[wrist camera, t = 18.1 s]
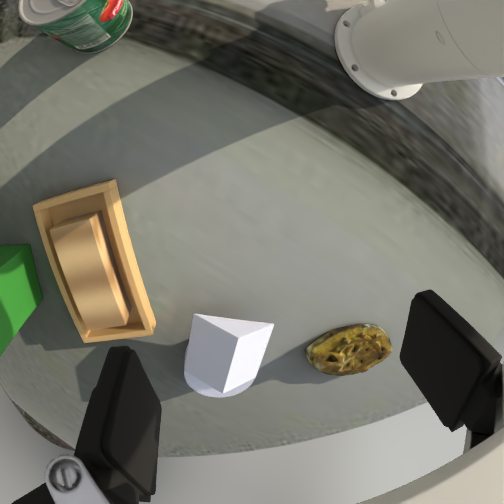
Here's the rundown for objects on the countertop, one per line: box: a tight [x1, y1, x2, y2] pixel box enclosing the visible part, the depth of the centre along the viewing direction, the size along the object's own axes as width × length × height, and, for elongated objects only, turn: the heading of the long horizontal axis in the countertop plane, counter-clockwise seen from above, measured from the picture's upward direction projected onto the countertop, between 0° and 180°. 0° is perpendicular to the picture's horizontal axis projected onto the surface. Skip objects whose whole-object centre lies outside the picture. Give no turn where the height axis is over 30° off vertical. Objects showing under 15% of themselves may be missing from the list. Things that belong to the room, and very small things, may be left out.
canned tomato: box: [18, 0, 133, 54], centre depth 16 cm, size 8×8×11 cm
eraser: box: [50, 210, 131, 330], centre depth 29 cm, size 12×5×4 cm, turn 8°
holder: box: [33, 179, 156, 343], centre depth 30 cm, size 18×10×3 cm, turn 8°
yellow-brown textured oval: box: [305, 324, 392, 376], centre depth 39 cm, size 9×5×15 cm
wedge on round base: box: [184, 314, 274, 397], centre depth 34 cm, size 9×7×13 cm
